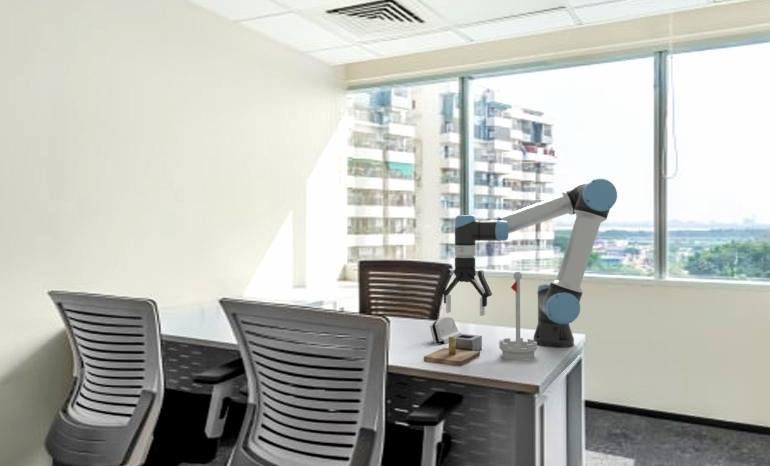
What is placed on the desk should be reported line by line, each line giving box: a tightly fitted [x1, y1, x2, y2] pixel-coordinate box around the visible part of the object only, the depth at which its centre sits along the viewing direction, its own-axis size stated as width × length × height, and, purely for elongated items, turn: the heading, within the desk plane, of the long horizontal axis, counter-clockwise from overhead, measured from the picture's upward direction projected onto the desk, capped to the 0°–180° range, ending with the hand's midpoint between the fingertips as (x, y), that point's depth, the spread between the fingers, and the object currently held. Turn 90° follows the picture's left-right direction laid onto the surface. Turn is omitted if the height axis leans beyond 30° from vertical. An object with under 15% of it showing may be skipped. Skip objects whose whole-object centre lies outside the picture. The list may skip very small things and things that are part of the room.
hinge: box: [429, 316, 462, 345], centre depth 235 cm, size 17×5×10 cm, turn 148°
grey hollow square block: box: [454, 333, 483, 352], centre depth 216 cm, size 9×9×5 cm
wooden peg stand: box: [423, 336, 481, 367], centre depth 203 cm, size 14×16×8 cm
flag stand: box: [498, 271, 538, 361], centre depth 205 cm, size 13×13×30 cm
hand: (464, 313), depth 215 cm, fingers open, 13 cm apart
